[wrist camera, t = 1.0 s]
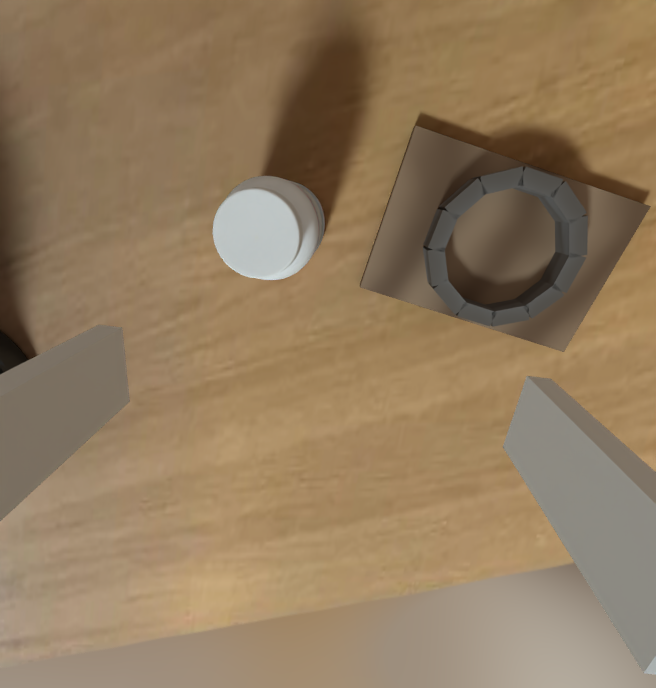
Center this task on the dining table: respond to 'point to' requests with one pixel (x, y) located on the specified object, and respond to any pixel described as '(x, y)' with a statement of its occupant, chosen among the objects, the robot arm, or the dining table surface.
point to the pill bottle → (268, 227)
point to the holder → (497, 240)
